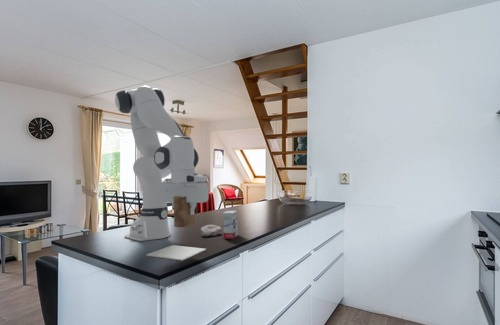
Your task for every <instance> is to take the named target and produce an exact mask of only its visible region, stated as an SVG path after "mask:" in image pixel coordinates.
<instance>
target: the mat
mask: <svg viewBox="0 0 500 325" xmlns="http://www.w3.org/2000/svg"><path fill="white" fill-rule="evenodd" d="M204 251H207V248H203V247H202V248H201V247H194V246H193V247H192V246H182V245H175V244H174V245H173V244H172V245H169V246H166V247H164V248H161V249H159V250H158V249H157V250H155V251H152V252H150V253H147V254H146V256H147V257H152V258H153V257H154V258H160V259H168V260H176V261H182V262H183V261H185V260H188V259H190V258H191V257H194V256H196V255H198V254H200V253H203V252H204Z"/></svg>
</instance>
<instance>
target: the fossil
mask: <svg viewBox="0 0 500 325" xmlns="http://www.w3.org/2000/svg"><path fill="white" fill-rule="evenodd" d="M221 230H222V228H221V226H219V225H216V224H206V225H204V226H202V227H200V233H201V235H202V236H203V237H210V236H212V237H213V236H214V237H215V236H217V235H218V233H219V232H221Z"/></svg>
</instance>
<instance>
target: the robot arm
mask: <svg viewBox="0 0 500 325" xmlns="http://www.w3.org/2000/svg"><path fill="white" fill-rule="evenodd" d="M114 103H115V106H116V108H117V110H118V111H119V112H120V113H122V114H130V125H131V130H132V131H131V132H132V134H133V139H134V144H135V147H136V148H137V150H138V151H139V153H141V155H142V157H139V158H137V159H136V160H134V163H133V166H132V170H133V173H134V174H135V175H136V177H137V178H138V181H139V184H140V189H141V192H142V208H141V209H140V210H138V213H140V214H139V216H138V218H136V219H135V220H134V221H133V222H132V223H131V224H130V226H129V233H127V234H124V238H125V237H126V239H129V238H130V239H129V240H135V241H140V242H144V241H150V240H151V241H152V240H153V241H154V240H158V239H159V240H160V239H165V238H168V237H170V236H171V235H172V234H171V231H170V226H169V219H168V212H169V211H168V210H169V209H168V204H167V203H171V206H172V208H173V209H174V200H173V197H174V196H186V202H187V203H190V206H191V209H190V210H188V214H189V215H194V210H195V211H196V207H197V203H198V204H201V203H203V204H204V203H207V202H208V201H209V197H210V196H209V195H210V194H209V187H208V184H207V180H208V179H207V178H208V177H207V176H206V175H203V174H201V173H197V172H196V169H195V168H196V167H197V166H198V163H199V154H198V152H197V150H196V149H195V147H194V142H193V139H192V138H191V136H186V135H185V134H184V131H183V130H182V129H181V126H179V125H180V124H178V122H177V121H176V119H174V118H173V117H172V116H171V115H170V114H169V113H168V111H167V110H166V109H165V95H164V92H163V91H162V90H161V89H159V88H156V87H150V86H147V85H142V86H139V87H137V88H133V89H127V90H126V89H122V90H120V91H118V92H116V93H115V98H114ZM158 132H160V133H163V134H164V135H166V136H167V137H169V138H170V140H169V141H168V142H167V143H166V144H164V145H161V142H160V138H159V134H158ZM169 176H170V177H171V178H167V177H169ZM162 179H164V180H162Z"/></svg>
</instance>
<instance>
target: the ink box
mask: <svg viewBox="0 0 500 325" xmlns="http://www.w3.org/2000/svg"><path fill="white" fill-rule="evenodd" d="M222 219H223V220H222V222H223V226H222V227H223V228H222V230H223V239H224V240H234V239H235V238H236V237H238V235H239V230H238V226H239V225H238V211H237V210H226V211H224V212H223V213H222Z"/></svg>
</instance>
